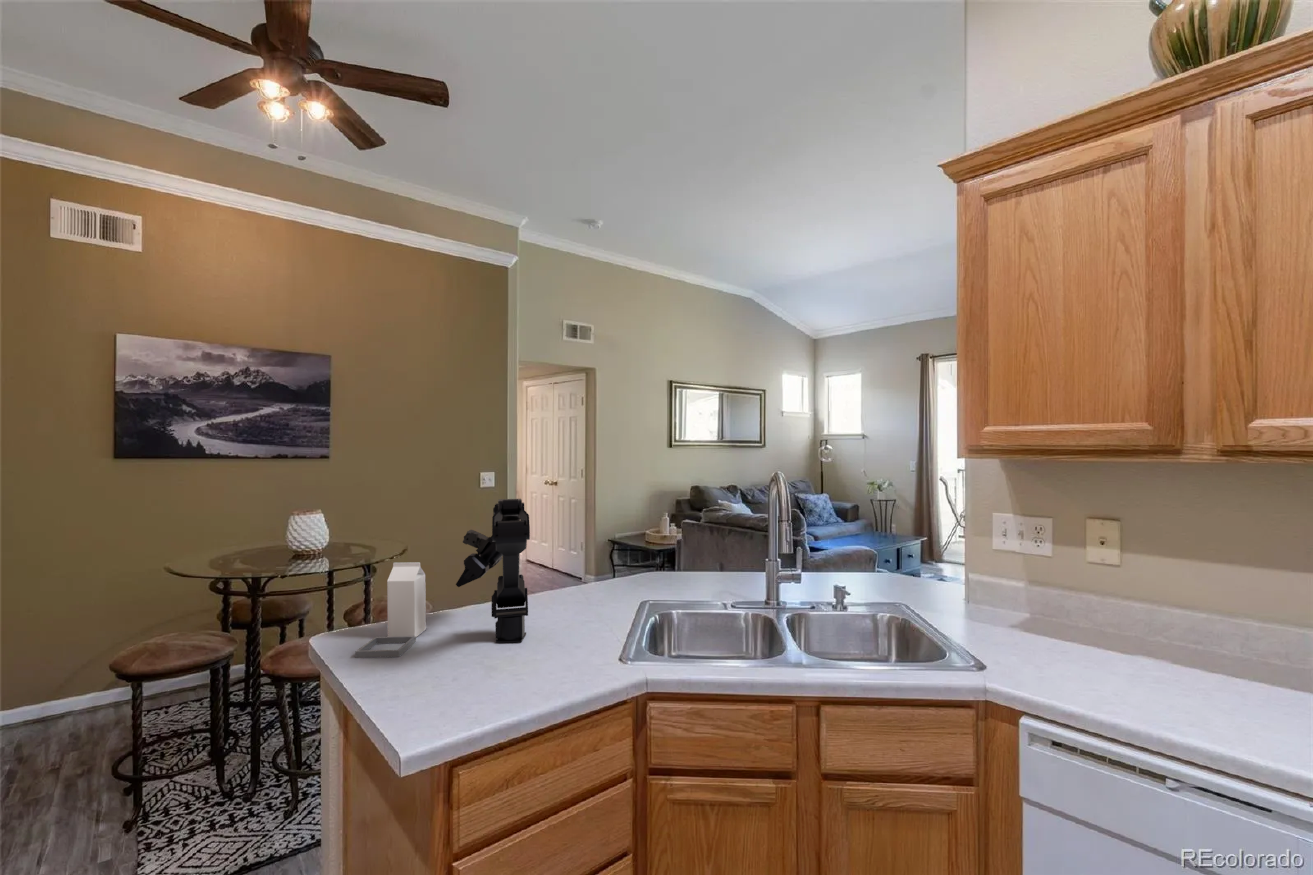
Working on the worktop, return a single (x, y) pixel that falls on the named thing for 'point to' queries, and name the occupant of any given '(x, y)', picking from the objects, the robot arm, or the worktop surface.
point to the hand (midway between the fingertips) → (462, 581)
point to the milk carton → (406, 600)
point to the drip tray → (367, 653)
